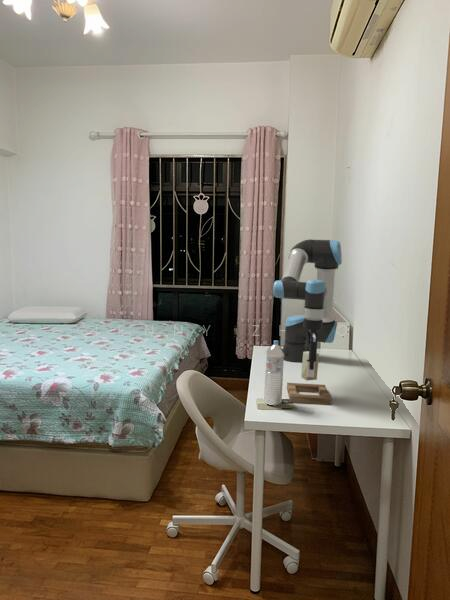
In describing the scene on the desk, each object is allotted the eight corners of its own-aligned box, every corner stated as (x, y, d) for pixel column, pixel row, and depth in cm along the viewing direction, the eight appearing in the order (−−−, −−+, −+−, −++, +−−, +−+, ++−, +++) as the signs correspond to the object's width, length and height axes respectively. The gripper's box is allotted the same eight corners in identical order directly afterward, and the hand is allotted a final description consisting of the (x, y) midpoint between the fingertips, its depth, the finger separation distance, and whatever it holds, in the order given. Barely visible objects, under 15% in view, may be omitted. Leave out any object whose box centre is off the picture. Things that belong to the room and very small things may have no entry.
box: (306, 381, 173) (308, 354, 171) (300, 377, 177) (302, 351, 175) (317, 379, 175) (319, 353, 173) (311, 376, 179) (313, 350, 177)
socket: (286, 388, 185) (287, 382, 185) (324, 390, 184) (324, 384, 184) (290, 402, 169) (290, 396, 169) (331, 404, 169) (331, 398, 168)
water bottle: (263, 399, 171) (266, 338, 168) (280, 400, 171) (284, 339, 168) (264, 406, 165) (267, 342, 161) (282, 407, 164) (286, 343, 161)
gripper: (301, 314, 182) (297, 367, 185) (306, 322, 163) (302, 381, 166) (319, 314, 181) (315, 367, 185) (326, 323, 163) (322, 382, 166)
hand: (309, 374), depth 175 cm, fingers closed on box, 6 cm apart
